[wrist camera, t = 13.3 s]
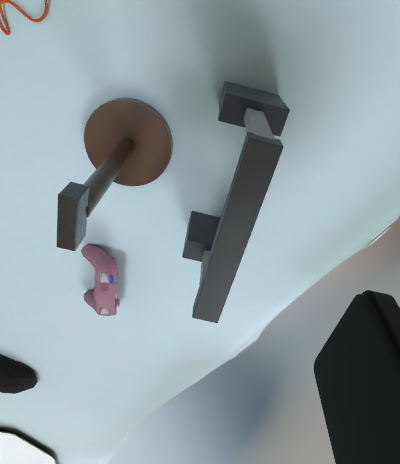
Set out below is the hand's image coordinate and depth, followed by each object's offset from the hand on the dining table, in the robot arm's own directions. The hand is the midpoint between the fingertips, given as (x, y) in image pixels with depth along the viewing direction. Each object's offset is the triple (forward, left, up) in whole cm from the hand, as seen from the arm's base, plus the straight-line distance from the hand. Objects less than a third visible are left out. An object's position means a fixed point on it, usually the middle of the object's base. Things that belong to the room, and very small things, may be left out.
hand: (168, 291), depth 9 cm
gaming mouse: (+26, +55, -33) cm, 69 cm away
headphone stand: (+8, +8, -33) cm, 35 cm away
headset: (-4, +8, -33) cm, 34 cm away
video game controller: (+9, +28, -33) cm, 45 cm away
